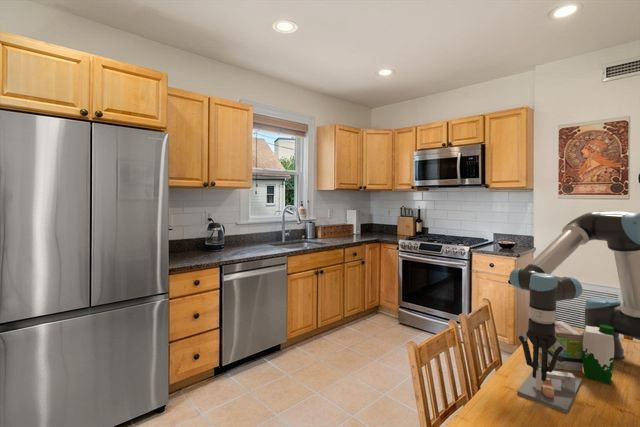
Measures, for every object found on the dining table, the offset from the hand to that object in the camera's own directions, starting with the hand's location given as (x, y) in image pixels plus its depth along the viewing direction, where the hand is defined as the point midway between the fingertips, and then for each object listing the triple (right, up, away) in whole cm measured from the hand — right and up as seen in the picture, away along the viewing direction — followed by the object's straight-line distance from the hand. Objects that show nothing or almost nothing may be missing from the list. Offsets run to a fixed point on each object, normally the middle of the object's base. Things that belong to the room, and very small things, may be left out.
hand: (539, 388), depth 112 cm
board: (+8, -3, +5) cm, 10 cm away
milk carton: (+30, -3, +12) cm, 32 cm away
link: (+6, -1, +6) cm, 8 cm away
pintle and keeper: (+8, -1, +6) cm, 10 cm away
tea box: (+25, -2, +24) cm, 35 cm away
